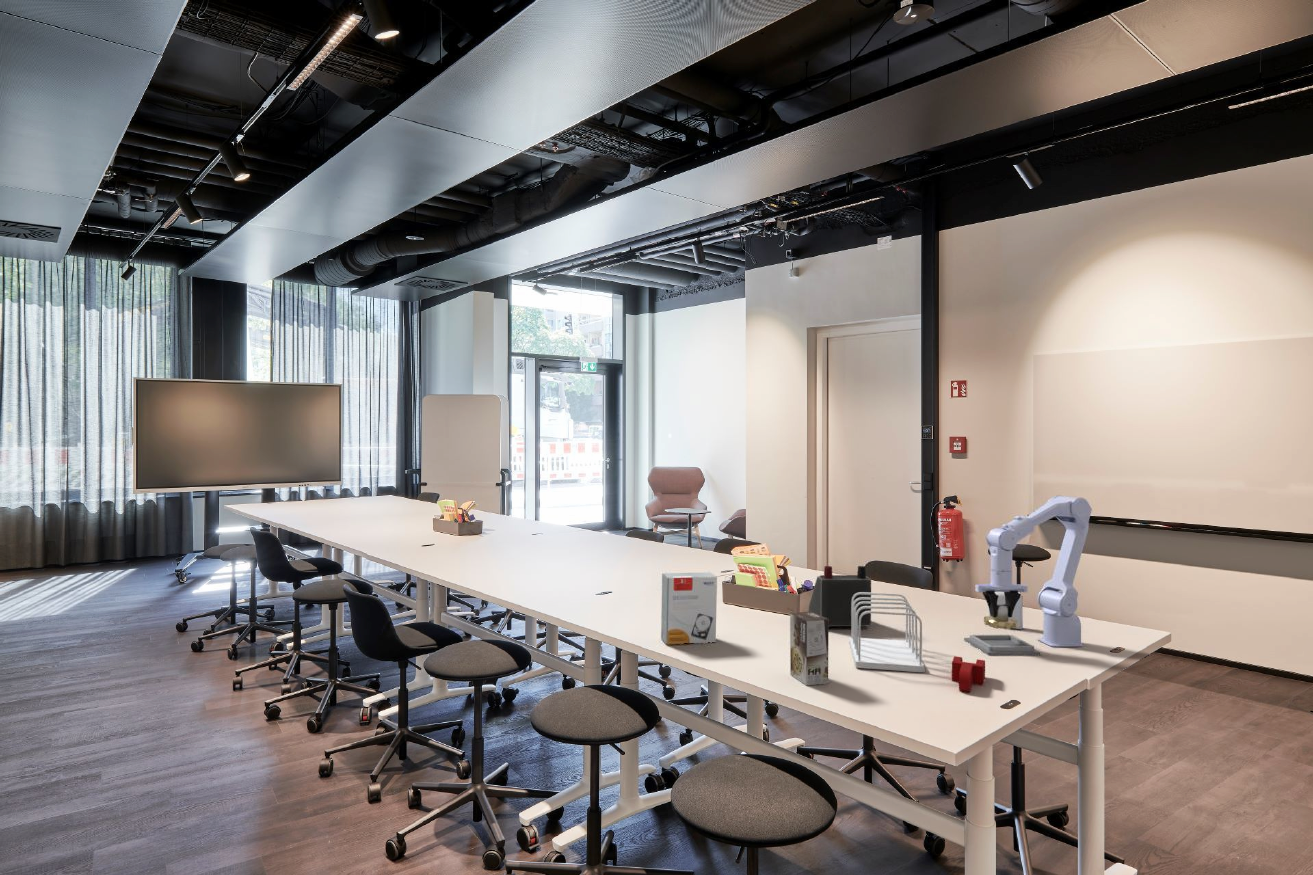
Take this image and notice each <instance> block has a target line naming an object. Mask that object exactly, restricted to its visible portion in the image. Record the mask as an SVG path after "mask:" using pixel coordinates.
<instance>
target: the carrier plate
mask: <svg viewBox="0 0 1313 875" xmlns="http://www.w3.org/2000/svg"><path fill="white" fill-rule="evenodd" d="M963 641H964V642H966V643H967V642H968V643H967V644H969V643H970V644H969V645H971V646H972V645H973V646H972V647H974V648H976V649H977V648H978V649H977V650H979V649H980V650H981V651H980V650H979V651H980V652H982V653H984V654H985V655H987V656H1041V654H1042V652H1041V651H1040V650H1037V649H1035V646H1034V645H1032V644H1030V643H1029V642H1026V641H1024V640H1023V639H1020V638H1019V637H1017V636H1015V635H1013V634H971V635H970V634H969V637H964V638H963Z"/></svg>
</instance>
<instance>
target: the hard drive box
mask: <svg viewBox="0 0 1313 875" xmlns="http://www.w3.org/2000/svg"><path fill="white" fill-rule="evenodd" d="M717 592H718V577H717V575H715V574H714V573H713V572H706V571H705V572H668V573H667V572H666V573H665V572H664V573H662V574H661V614H660V615H661V617H660V618H661V620H660V621H661V623H660V624H661V627H660V639H661V640H662V641H663V643H664V644H665V645H676V644H680V645H685V644H684V643H694V644H701V643H703V644H713V643H712V642H716V643H717V638H716V637H717V595H718V593H717ZM708 642H710V643H708Z"/></svg>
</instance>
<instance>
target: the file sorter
mask: <svg viewBox="0 0 1313 875" xmlns="http://www.w3.org/2000/svg"><path fill="white" fill-rule="evenodd" d="M860 594H864V595H871V596H889V597H871V598H869V597H860V598H857V599H856V600H855V601H854V598H855V597H856V596H857V595H860ZM891 596H892V597H891ZM894 597H901V598H894ZM858 600H871V602H870V601H863V602H859V603H857V604H856V606H855V603H856V602H857V601H858ZM860 604H871V606H863V607H861V608H859V609H858V610H857V612H856V608H857V607H858V606H859V605H860ZM872 605H874V606H872ZM877 605H879V606H877ZM882 605H883V606H882ZM884 605H885V606H884ZM886 605H896V606H886ZM897 605H901V606H897ZM854 606H855V608H854ZM865 608H867V609H871V611H865V612H863V613H862V614H861V615H860V617H859V626H858V613H859V611H860V610H862V609H865ZM872 609H873V610H872ZM874 609H875V610H874ZM879 609H881V610H905V612H900V611H899V612H897V611H879ZM877 610H878V611H877ZM867 613H871V614H875V615H876V614H879V615H891V616H892V615H893V616H895V615H896V616H897V615H898V616H905V640H899V639H898V640H897V639H884V638H883V639H882V638H869V637H868V638H865V637H862V636H861V635H862V634H861V631H862V629H861V618H862V616H863V615H865V614H867ZM918 622H919V651H918ZM850 627H851V629H850V630H851V633H850V635H851V636H850V637H848V645H849V649H850V652H851V655H852V659H853V663H854V666H855V668H857V669H868V670H871V669H872V670H885V671H886V670H887V671H899V672H901V671H902V672H908V673H909V672H911V673H912V672H913V673H925V672H926V670H925V669H926V668H925V665H924V663H923V660H922V657H923V656H922V654H923V652H922V651H923V649H922V648H923V622H922V619H921V618H920V616H918V614H917V613H916V611H915V610H914V609H913V607H912V605H911V604H910V603H909V602H908V598H906V597H905V596H904V595H903V594H899V593H887V592H886V593H884V592H871V593H867V592H859V593H856V594H855V595H854V596H853V597H852V606H851V626H850ZM918 653H919V654H918Z"/></svg>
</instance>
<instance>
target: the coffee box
mask: <svg viewBox="0 0 1313 875" xmlns="http://www.w3.org/2000/svg"><path fill="white" fill-rule="evenodd" d="M789 616H790V617H789V618H790V619H789V620H790V621H789V623H790V624H789V627H790V628H789V630H790V631H789V633H790V634H789V638H790V639H789V640H790V642H789V644H790V645H789V647H790V648H789V649H790V652H789V653H790V656H789V657H790V667H789V668H790V672H789V673H790V676H791V675H792V676H791V677H793V678H795V679H796V680H798V682H801V683H802V684H803V685H805V686H807V685H808V686H817V684H818V685H827V684H829V639H830V638H829V636H830V635H829V629H830V628H829V619H827V618H825V617H823V616H821V615H818V614H816V613H814V612H811V611H809V610H808V611H799V612H790V613H789Z"/></svg>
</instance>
